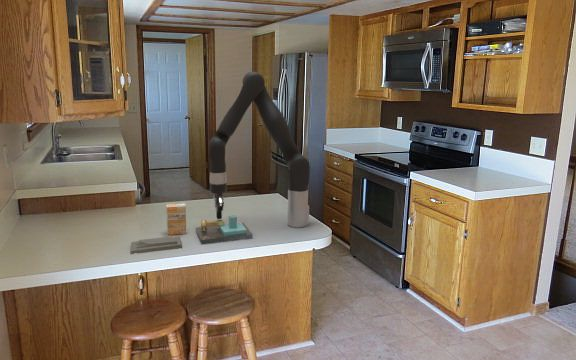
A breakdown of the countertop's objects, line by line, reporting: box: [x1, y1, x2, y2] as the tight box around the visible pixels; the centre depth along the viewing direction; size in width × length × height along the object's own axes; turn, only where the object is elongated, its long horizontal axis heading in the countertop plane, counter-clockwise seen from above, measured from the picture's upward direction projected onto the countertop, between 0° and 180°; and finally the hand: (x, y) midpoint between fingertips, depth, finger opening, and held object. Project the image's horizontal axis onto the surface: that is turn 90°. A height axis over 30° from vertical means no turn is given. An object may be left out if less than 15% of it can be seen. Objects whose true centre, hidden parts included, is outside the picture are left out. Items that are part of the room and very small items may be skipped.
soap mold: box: [130, 236, 183, 255], centre depth 192 cm, size 10×20×4 cm, turn 109°
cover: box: [219, 214, 247, 236], centre depth 205 cm, size 10×10×6 cm
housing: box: [195, 222, 253, 245], centre depth 206 cm, size 22×16×2 cm
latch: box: [200, 219, 226, 231], centre depth 207 cm, size 10×2×4 cm, turn 110°
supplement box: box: [166, 202, 187, 236], centre depth 207 cm, size 8×5×13 cm, turn 105°
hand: (219, 218), depth 214 cm, fingers closed
